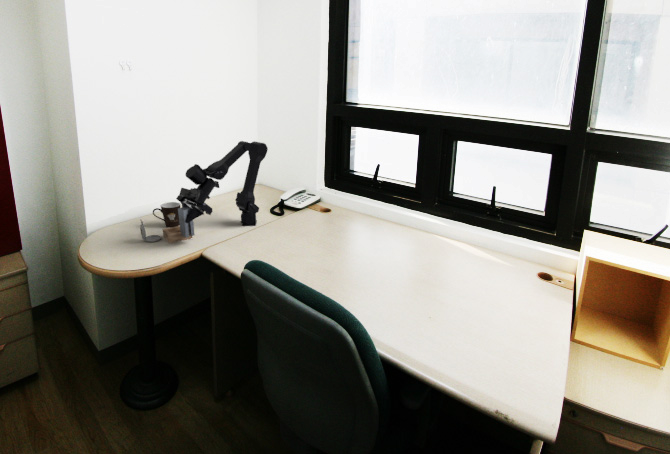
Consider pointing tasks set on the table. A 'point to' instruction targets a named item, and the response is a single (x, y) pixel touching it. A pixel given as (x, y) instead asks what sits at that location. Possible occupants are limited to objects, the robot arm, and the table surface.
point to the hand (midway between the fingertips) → (183, 221)
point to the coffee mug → (169, 214)
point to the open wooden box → (174, 234)
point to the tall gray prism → (185, 227)
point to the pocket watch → (148, 238)
